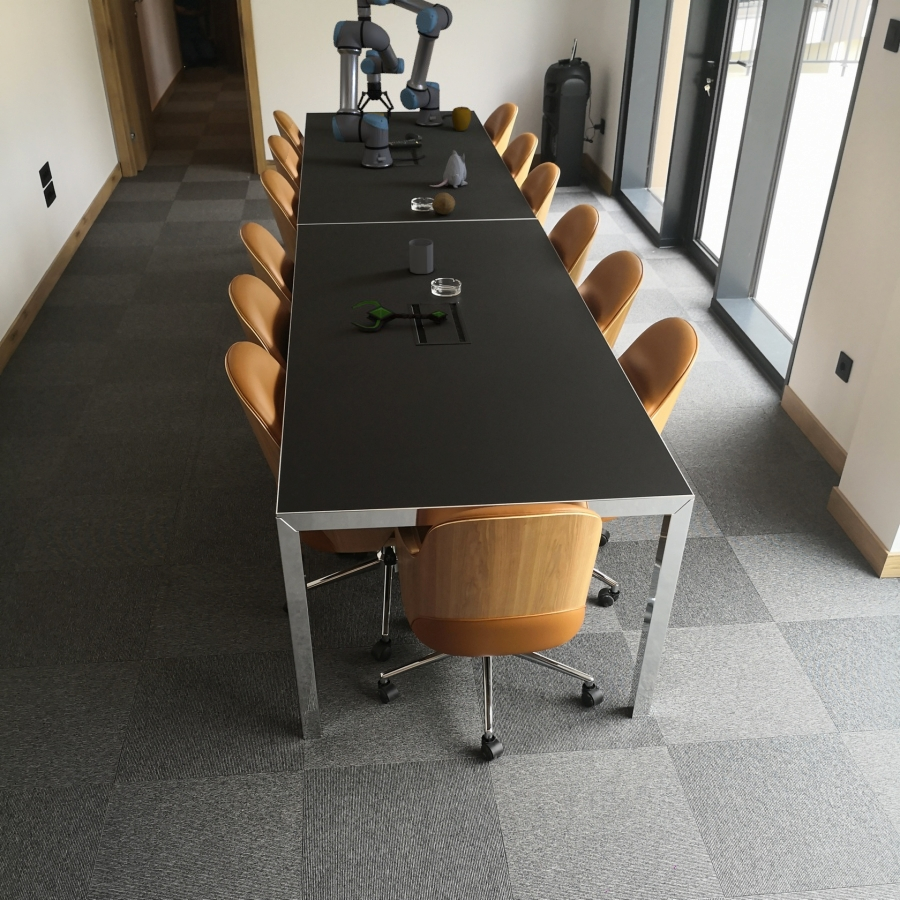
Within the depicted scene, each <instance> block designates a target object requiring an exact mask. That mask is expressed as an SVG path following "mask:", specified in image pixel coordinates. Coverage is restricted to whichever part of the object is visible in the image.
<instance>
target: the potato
mask: <svg viewBox="0 0 900 900" xmlns="http://www.w3.org/2000/svg"><path fill="white" fill-rule="evenodd" d="M455 206H456V200H455V198H454V196H452V195H451V194H449V193H448V192H439V193H437V194H436V195H435V197H434V198H433V200H432V201H431V207H432V209H433V210H434V212H436V213H437V214H439V215H441V216H442V215H449V214H450V213H452V212H453V211H454V209H455Z"/></svg>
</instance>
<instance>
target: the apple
mask: <svg viewBox="0 0 900 900" xmlns="http://www.w3.org/2000/svg"><path fill="white" fill-rule="evenodd" d="M451 114H452V116H451V121H452V125H453V128H454V129H455V131H457V132H463V131H466V130H467V129H468V128H469V126H470V124H471V121H472V111H471V108H469V107H467V106H462V105H461V106H457V107H454V108H452V111H451Z"/></svg>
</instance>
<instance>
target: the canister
mask: <svg viewBox="0 0 900 900" xmlns="http://www.w3.org/2000/svg"><path fill="white" fill-rule="evenodd" d="M367 114H378V115H381V116H384V117H385V113H384V112H380V111H373V112H372V111H371V112H368V113H367Z"/></svg>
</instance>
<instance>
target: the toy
mask: <svg viewBox="0 0 900 900" xmlns="http://www.w3.org/2000/svg"><path fill="white" fill-rule="evenodd" d="M466 178H467V168H466V156H465V153H463V154H462V155H459V154H458V153H457V151H456V150H455V149H453V150H452V153H451V155H450V156H449V158H448V161H447V163H446V166H445V170H444V171H443V177H442V179H443V181H442V182H441V183H439V184H436V185H435V184H433V185H432V184H430V185H428V186H429V187H434V188H440V187H443V186H446V187H448V186H449V185H451V186H453V188H455V189H459V187H458V186H461V187H462V186H467V185H468V182H467V181H465V180H466Z"/></svg>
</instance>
